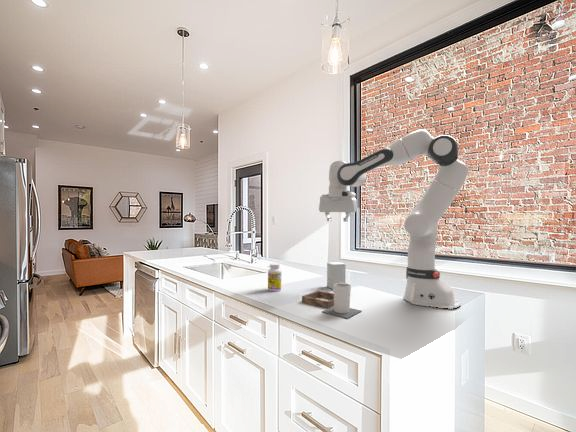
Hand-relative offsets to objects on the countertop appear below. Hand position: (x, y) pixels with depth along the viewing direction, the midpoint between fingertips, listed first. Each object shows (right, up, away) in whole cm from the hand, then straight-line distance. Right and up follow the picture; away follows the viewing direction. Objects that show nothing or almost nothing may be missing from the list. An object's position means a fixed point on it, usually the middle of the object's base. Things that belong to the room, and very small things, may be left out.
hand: (337, 221), depth 153 cm
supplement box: (0, -34, +4) cm, 35 cm away
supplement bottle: (-31, -34, -3) cm, 46 cm away
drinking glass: (-4, -34, -36) cm, 49 cm away
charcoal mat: (-4, -34, -36) cm, 50 cm away
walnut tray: (-10, -34, -22) cm, 42 cm away
